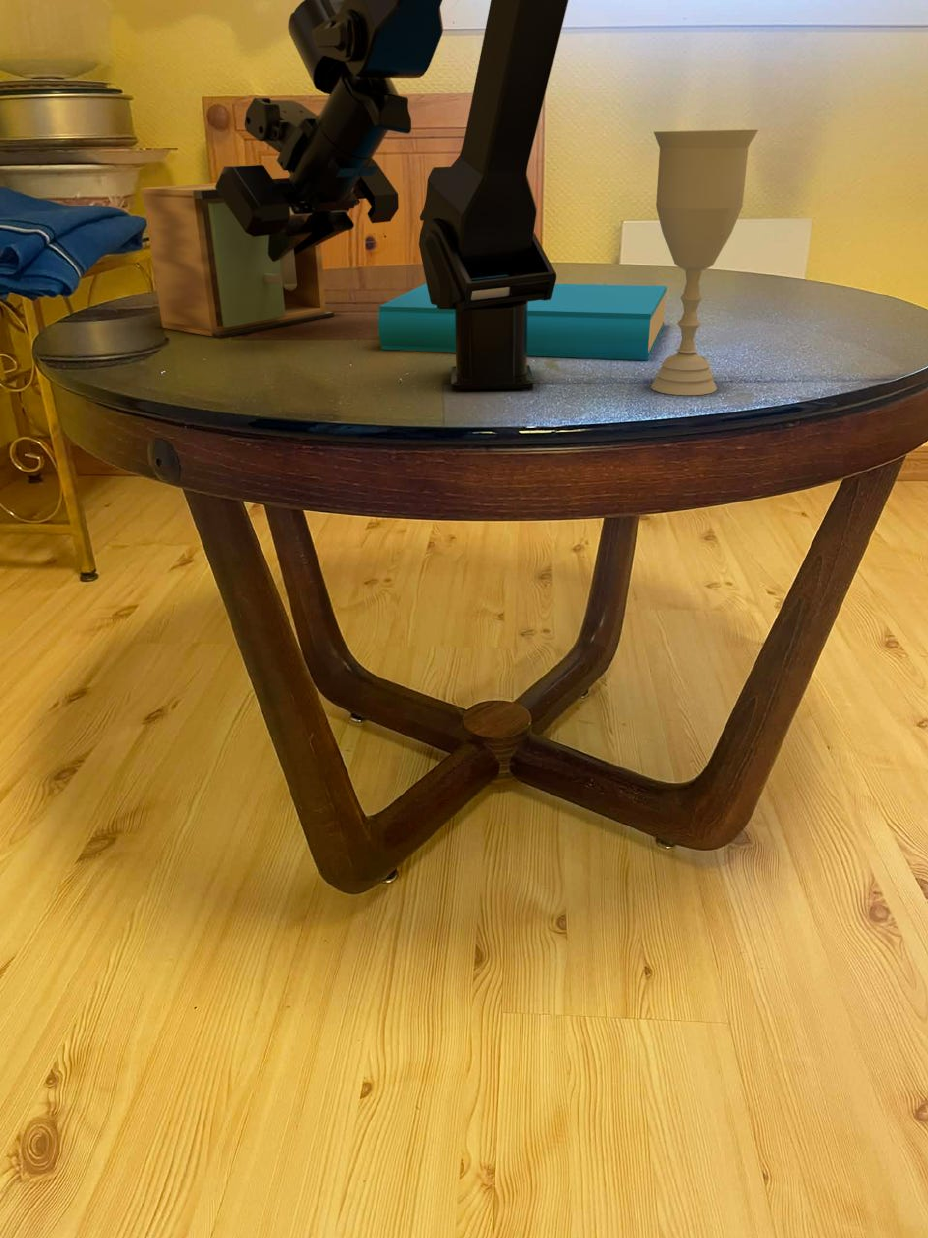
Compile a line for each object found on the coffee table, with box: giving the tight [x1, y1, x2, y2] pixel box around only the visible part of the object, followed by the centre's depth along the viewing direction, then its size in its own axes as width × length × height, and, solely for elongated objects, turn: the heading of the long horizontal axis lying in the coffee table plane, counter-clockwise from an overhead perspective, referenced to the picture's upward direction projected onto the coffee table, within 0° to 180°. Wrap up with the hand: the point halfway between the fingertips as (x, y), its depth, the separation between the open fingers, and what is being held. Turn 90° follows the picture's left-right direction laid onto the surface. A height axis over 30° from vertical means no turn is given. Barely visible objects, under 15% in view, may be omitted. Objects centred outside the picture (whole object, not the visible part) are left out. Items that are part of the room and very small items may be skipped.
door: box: [208, 202, 297, 328], centre depth 97 cm, size 5×8×12 cm, turn 140°
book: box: [377, 282, 668, 361], centre depth 94 cm, size 17×4×25 cm
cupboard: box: [141, 182, 335, 339], centre depth 103 cm, size 10×16×14 cm, turn 140°
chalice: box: [650, 129, 759, 396], centre depth 72 cm, size 7×7×18 cm
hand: (278, 257), depth 98 cm, fingers closed on door
